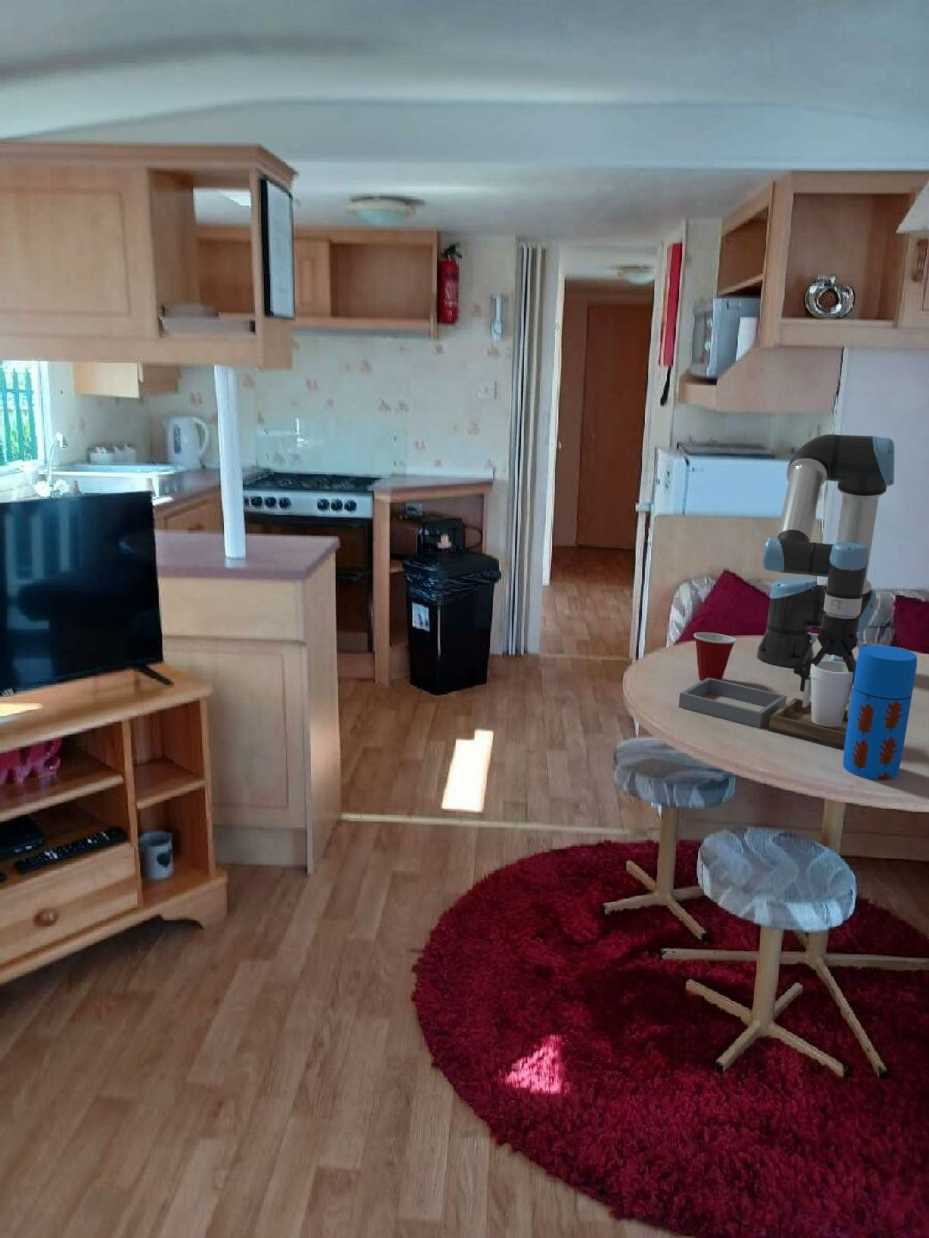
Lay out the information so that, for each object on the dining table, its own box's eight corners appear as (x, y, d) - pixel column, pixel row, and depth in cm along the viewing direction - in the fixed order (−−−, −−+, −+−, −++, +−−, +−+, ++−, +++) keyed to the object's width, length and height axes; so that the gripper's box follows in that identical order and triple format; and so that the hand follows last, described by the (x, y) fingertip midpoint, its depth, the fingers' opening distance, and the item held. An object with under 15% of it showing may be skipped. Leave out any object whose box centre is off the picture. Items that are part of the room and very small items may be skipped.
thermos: (909, 780, 189) (929, 661, 183) (857, 780, 188) (875, 660, 182) (881, 758, 200) (899, 644, 193) (832, 758, 199) (849, 644, 192)
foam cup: (851, 731, 208) (860, 675, 204) (807, 727, 210) (815, 671, 206) (844, 716, 217) (851, 662, 213) (801, 712, 218) (808, 658, 215)
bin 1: (706, 690, 239) (708, 677, 238) (785, 709, 227) (786, 695, 226) (678, 706, 226) (679, 693, 226) (759, 727, 215) (761, 713, 214)
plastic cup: (738, 679, 248) (743, 635, 245) (720, 689, 240) (725, 644, 237) (700, 670, 255) (705, 627, 252) (681, 679, 247) (686, 635, 244)
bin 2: (793, 711, 226) (795, 697, 225) (881, 733, 214) (883, 718, 213) (768, 730, 214) (770, 715, 213) (860, 753, 202) (862, 738, 201)
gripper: (785, 608, 210) (773, 703, 216) (889, 627, 197) (873, 727, 203) (797, 602, 216) (785, 695, 222) (898, 620, 203) (883, 718, 209)
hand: (827, 710), depth 213 cm, fingers closed on foam cup, 9 cm apart
